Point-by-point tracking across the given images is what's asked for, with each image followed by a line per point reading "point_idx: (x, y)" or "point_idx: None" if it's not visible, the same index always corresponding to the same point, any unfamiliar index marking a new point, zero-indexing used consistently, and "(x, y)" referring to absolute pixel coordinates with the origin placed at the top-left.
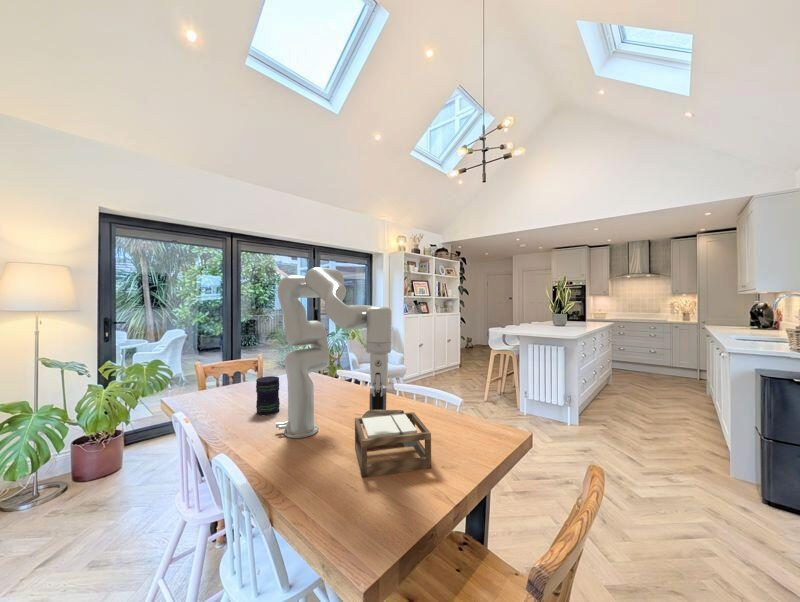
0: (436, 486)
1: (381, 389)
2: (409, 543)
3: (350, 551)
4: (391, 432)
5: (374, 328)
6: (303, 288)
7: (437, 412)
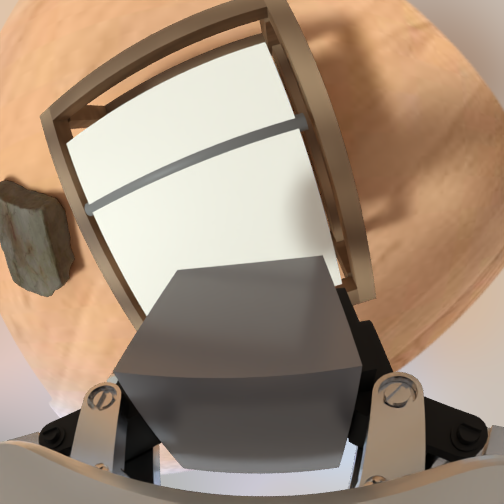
0: (375, 38)
1: (419, 455)
2: None
3: None
4: (305, 175)
5: None
6: None
7: None
